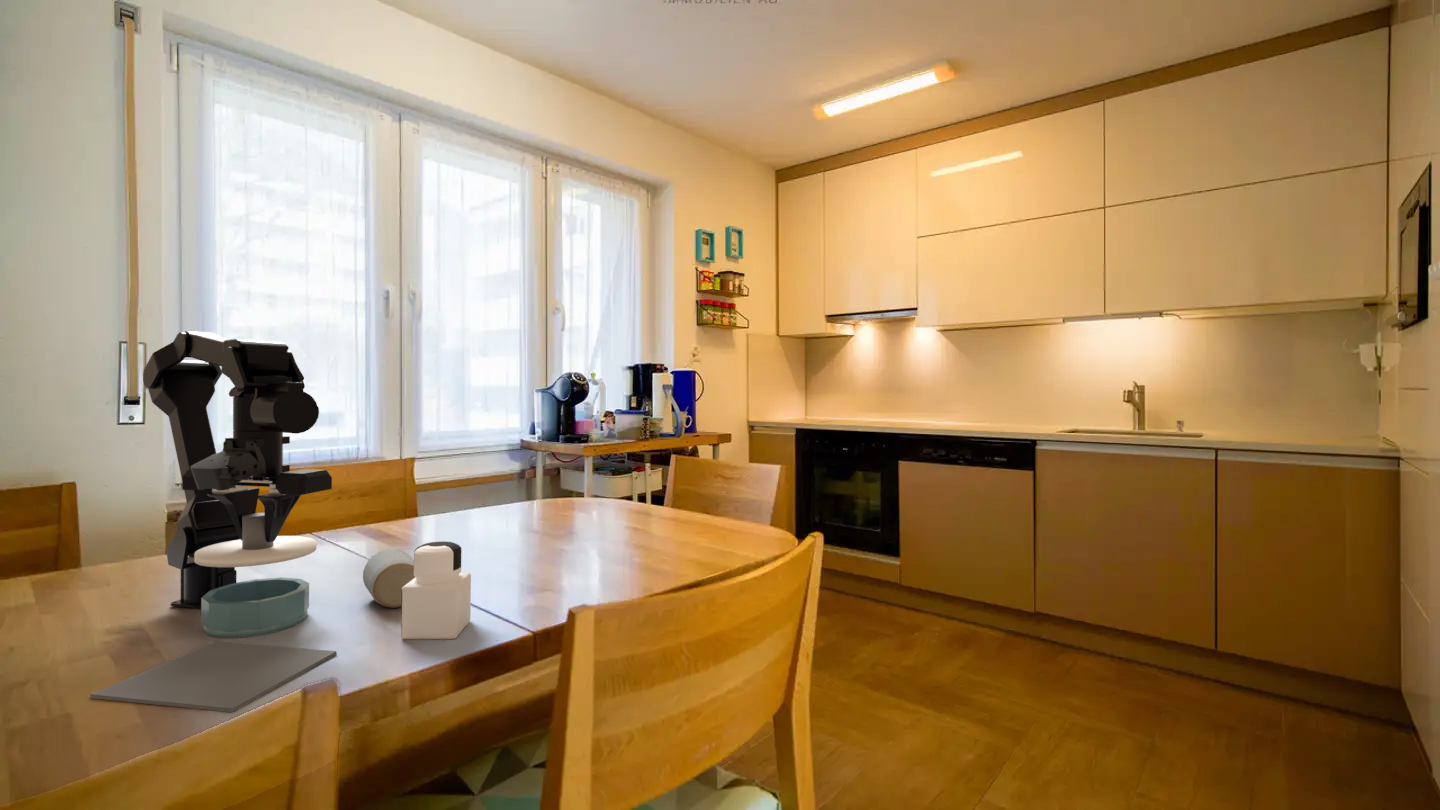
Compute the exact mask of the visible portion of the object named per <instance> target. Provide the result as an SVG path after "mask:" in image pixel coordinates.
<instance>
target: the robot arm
mask: <svg viewBox="0 0 1440 810" xmlns="http://www.w3.org/2000/svg"><path fill="white" fill-rule="evenodd" d="M185 358H192V359H195V360H187V359H185ZM222 375H225V377H227V378H229V380H230V381H231V383H232V384H233V386H234V387H232V388H231V389H230V390H229V391H228V396H229V397H231V398H232V405H233V406H232V417H233V418H232V424H233V425H232V437H226V438H225V439H224V441H223V445H222V450H221V451H220V452H219V451H218V452H217V451H216V445H215V441H214V438H213V437H214V436H213V432H212V427H211V423H210V419H209V415H208V411H207V407H208V404H209V403H210V401H211V400H212V397H213V396H214V394H215V392H216V387H215V386H216V384H217V383H218V381H219V380H220V378H221V376H222ZM304 379H305V377H304V375H303V373H302V371H301V370H300V368H299V366H298V364H297V362H296V360H295V357H294V354H293V353H292V351H291V350H289V346H288V345H287V344H286V343H285V342H282V341H268V340H255V339H238V338H229V337H224V336H221V335H219V334H216V333H215V332H207V331H192V330H189V331H188V330H186V331H183V332H178V333H177V334H176V336H175V338H174V340H173V341H172V342H171V343H168V344H167V345H165V346H163V347H161V348H160V349H158V350H156V351H154V352H153V353H151V355H150V358H149V359H148V361H147V363H146V365H145V367H144V370H143V375H142V380H143V386H144V387H145V388H146V389H147V390H148V393H149V396H150V400H151V402H152V404H154V406H156V407H157V408H158V409H159V410H160V411H162V412H163V413H164V414H165V415H166V416H167V417H168V419H169V424H170V428H171V433H172V438H173V444H174V448H175V454H176V458H177V463H178V467H179V472H180V476H181V481H182V482H181V483H182V491H184V495H185V500H186V501H185V502H186V504H185V506H184V508H183V511H182V512H181V514H180V516H179V517H178V518H177V522H176V526H177V527H176V528H177V530H176V532H175V535H174V536H173V538H172V540H171V542H170V543H169V545H168V548H167V549H166V557H167V558H166V559H167V564H168V566H171V567H174V568H176V569H179V570H180V598H179V599H177V600H175V601H171V602H170V607H178V608H190V609H191V608H192V609H201V598H202V597H203V596H204V595H205V594H206V593H208V592H209V591H211V590H214V589H217V588H220V587H223V586H226V585H229V584H233V583H237V570H236V567H207V566H201V565H198V564H196V563H195V562H194V553H195V552H196V551H197V550H199V549H201V548H204V547H207V546H210V545H213V544H218V543H222V542H227V541H233V540H239V539H241V540H242V516H243V515H246V514H252V513H257V507H258V501H260V502H261V504H262V505H263V508H264V509H263V510H264V513H265V535H266V541H267V542H273V541H275V539H276V537H277V536H279V534H280V532H281V530H282V528H283V526H284V524H285V523H286V520H287V518H288V517H289V515H290V513H291V511H292V510H293V509H294V507H295V505H296V504H297V502H298V500H299V499H300V497H301V496H303V495H308V494H313V493H317V492H323V491H328V490H333V489H332V487H333V483H332V482H333V480H332V479H333V477H332V474H331V473H330V472H329V471H328V470H327V469H315V468H313V469H312V468H303V469H298V470H297V469H296V470H290V464H284V460H283V459H284V456H283V455H284V454H283V452H284V449H283V448H284V447H283V446H284V445H285V444H287V445H288V444H290V443H291V442H290V441H291V439H290V438H291V437H290V435H289V436H287V435H286V436H285V435H283V434H284V433H286V434H302V433H305V432H307V431H308V430H311V428H313V427H314V425H315V424H316V423H317V421H318V419H319V414H320V408H319V406H318V404H317V402H316V399H315V398H314V397H313V396H312V395H311V394H309V393H307V392H306V391H304V389H305V387H306V386H305V383H304ZM260 487H266V488H268V493H265V494H260V489H261V488H260Z"/></svg>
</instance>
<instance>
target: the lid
mask: <svg viewBox="0 0 1440 810" xmlns="http://www.w3.org/2000/svg"><path fill="white" fill-rule="evenodd" d="M316 550H317V540H316V539H314V538H311V537H308V536H299V535H278V536H277V537H276V539H275V541H273V542H267V541H266V535H265V512H256V513H252V514H246V515H243V516H242V540H241V539H239V540H233V541H227V542H222V543H218V544H213V545H210V546H207V547H204V548H201V549H199V550H197V551H196V552H195V553H194V562H195V563H196V564H198V565H201V566H207V567H235V568H242V567H252V566H256V567H257V566H263V565H270V564H277V563H284V562H287V561H292V560H296V559H300V558H303V557H305V556H309V555H310V554H312V553H315V552H316Z"/></svg>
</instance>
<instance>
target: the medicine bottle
mask: <svg viewBox="0 0 1440 810" xmlns="http://www.w3.org/2000/svg"><path fill="white" fill-rule="evenodd" d="M413 560H414V576H415V578H414V579H413V580H411V581H410V582H409V583H407V584H406V585H405V586H403V587H402V604H401V607H400V609H401V610H400V611H401V612H400V613H401V617H400V618H401V622H400V624H401V625H400V638H401V639H402V640H455V639H457V637H458V636H459V635H460V633H461V632H462V631H463V630H464V628H465V627H466V626H467V625H468V624H469V623H470V621H471V601H472V600H471V596H472V594H471V590H472V588H471V587H472V574H471V572H462V547H461V546H460V545H459V544H457V543H455V542H453V541H433V542H426V543H423V544H422V545H420V546H417V547H416V548H415V549H414V551H413Z"/></svg>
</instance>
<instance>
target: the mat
mask: <svg viewBox="0 0 1440 810" xmlns="http://www.w3.org/2000/svg"><path fill="white" fill-rule="evenodd" d="M334 656H337V651H336V650H328V649H327V650H326V649H313V648H303V647H301V648H300V647H293V646H292V647H290V646H280V645H279V646H278V645H267V644H255V643H254V644H253V643H243V642H232V641H231V642H230V641H218V640H217V641H216V640H215V641H213V642H210V643H208V644H206V645H204V646H201V647H200V648H197V649H196V648H195V649H194V650H191V651H189V652H186V653H185V654H183V655H180V656H177V657H175V658H173V659H171V660H168V661H166V662H164V663H161V664H159V665H156V666H154V667H151V668H149V669H146V670H145V671H142V672H140V673H137V674H135V675H132V676H130V677H128V678H126V679H123V680H121V681H118V682H116V683H114V684H111V685H109V686H106V687H104V688H101V689H99V690H97V691H94V692H93V693H90V694H89V699H97V700H98V699H99V700H108V701H116V702H127V703H135V704H136V703H137V704H145V705H146V704H148V705H158V706H166V707H177V708H178V707H179V708H188V709H198V710H205V711H207V710H208V711H218V712H227V713H228V712H229V713H234V712H235V711H237V710H239V709H240V708H242V707H245V706H246V705H248V704H250V703H252V702H254V701H256V700H257V699H259V698H261V697H263V696H264V695H266V694H268V693H270V692H272V691H273V690H276V689H277V688H279V687H281V686H282V685H284V684H286V683H288V682H290V681H291V680H294V679H296V678H297V677H298V676H300V675H302V674H304V673H305V672H307V671H309V670H311V669H313V668H315V667H316V666H318V665H320V664H321V663H324V662H326V661H327V660H329V659H331V658H332V657H334Z"/></svg>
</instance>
